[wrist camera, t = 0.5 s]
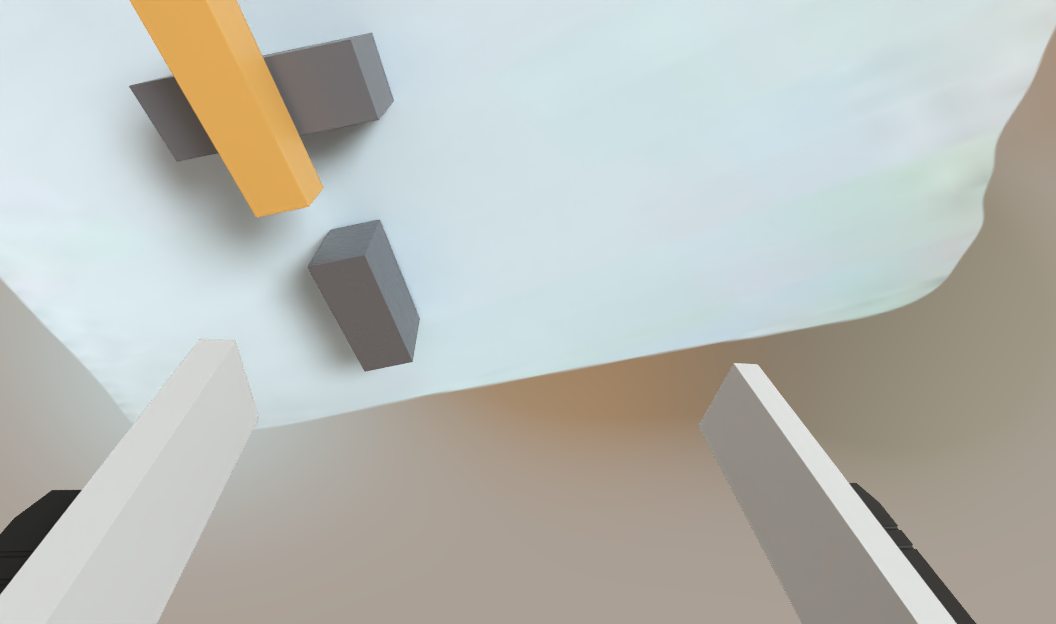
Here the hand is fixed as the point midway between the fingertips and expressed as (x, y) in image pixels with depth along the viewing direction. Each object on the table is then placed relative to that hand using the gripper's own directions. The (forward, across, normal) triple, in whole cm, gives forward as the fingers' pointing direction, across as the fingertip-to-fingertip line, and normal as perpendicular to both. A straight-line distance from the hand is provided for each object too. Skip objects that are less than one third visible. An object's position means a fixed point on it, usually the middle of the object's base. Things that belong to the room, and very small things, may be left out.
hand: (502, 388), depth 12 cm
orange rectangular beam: (+19, -13, +2) cm, 23 cm away
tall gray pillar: (+25, -13, +2) cm, 28 cm away
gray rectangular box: (+25, -8, -12) cm, 29 cm away
